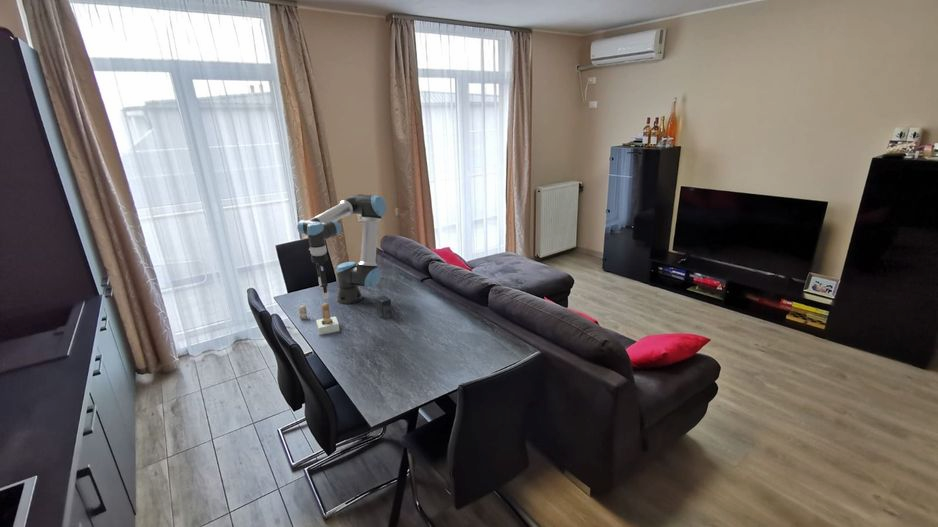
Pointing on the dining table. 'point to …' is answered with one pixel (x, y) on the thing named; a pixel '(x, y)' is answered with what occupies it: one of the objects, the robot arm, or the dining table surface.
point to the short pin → (302, 312)
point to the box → (383, 307)
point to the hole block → (327, 326)
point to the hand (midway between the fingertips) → (324, 293)
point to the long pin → (326, 313)
